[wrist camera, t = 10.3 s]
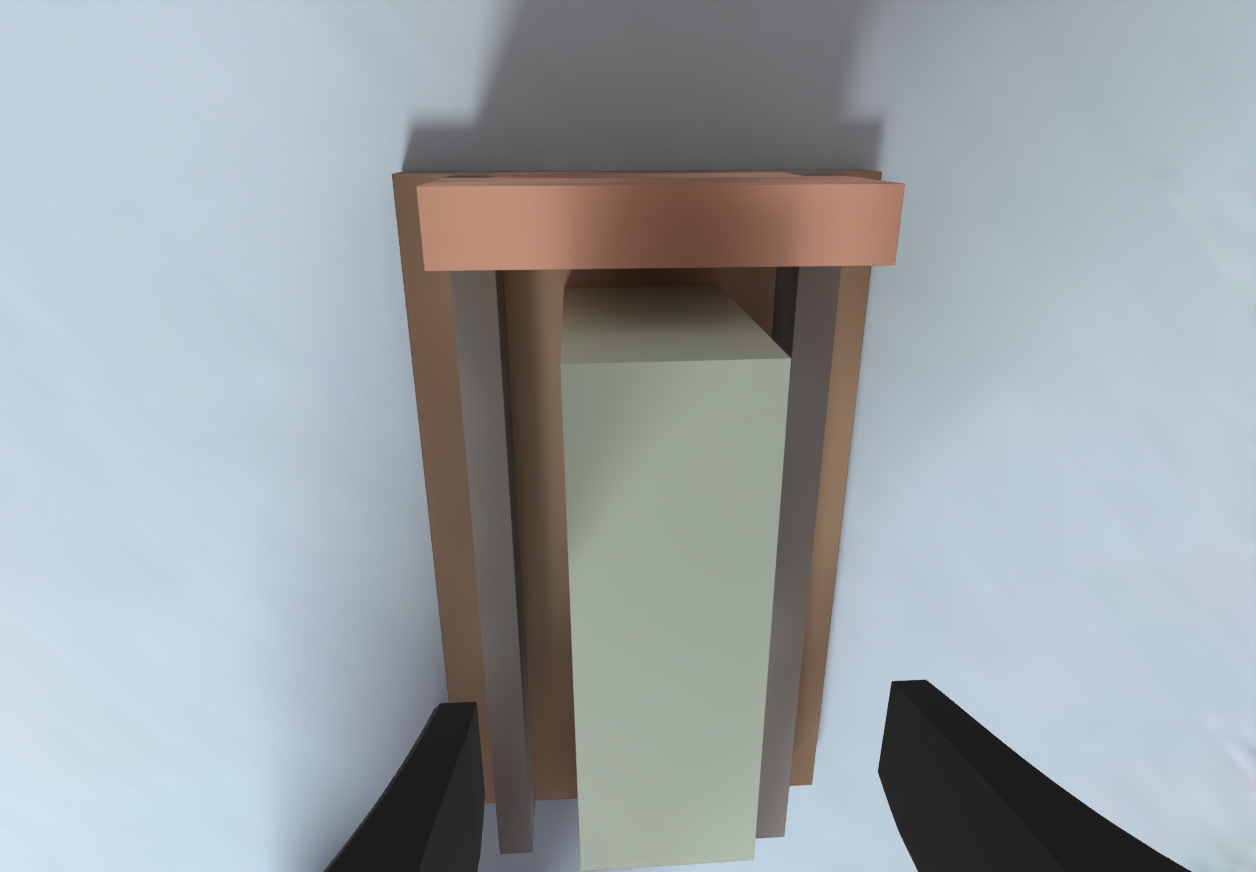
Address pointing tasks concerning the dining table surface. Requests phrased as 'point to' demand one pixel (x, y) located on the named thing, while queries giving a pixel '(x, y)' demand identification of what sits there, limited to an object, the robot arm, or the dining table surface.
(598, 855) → the pale green block
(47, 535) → the dining table surface
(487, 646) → the track
